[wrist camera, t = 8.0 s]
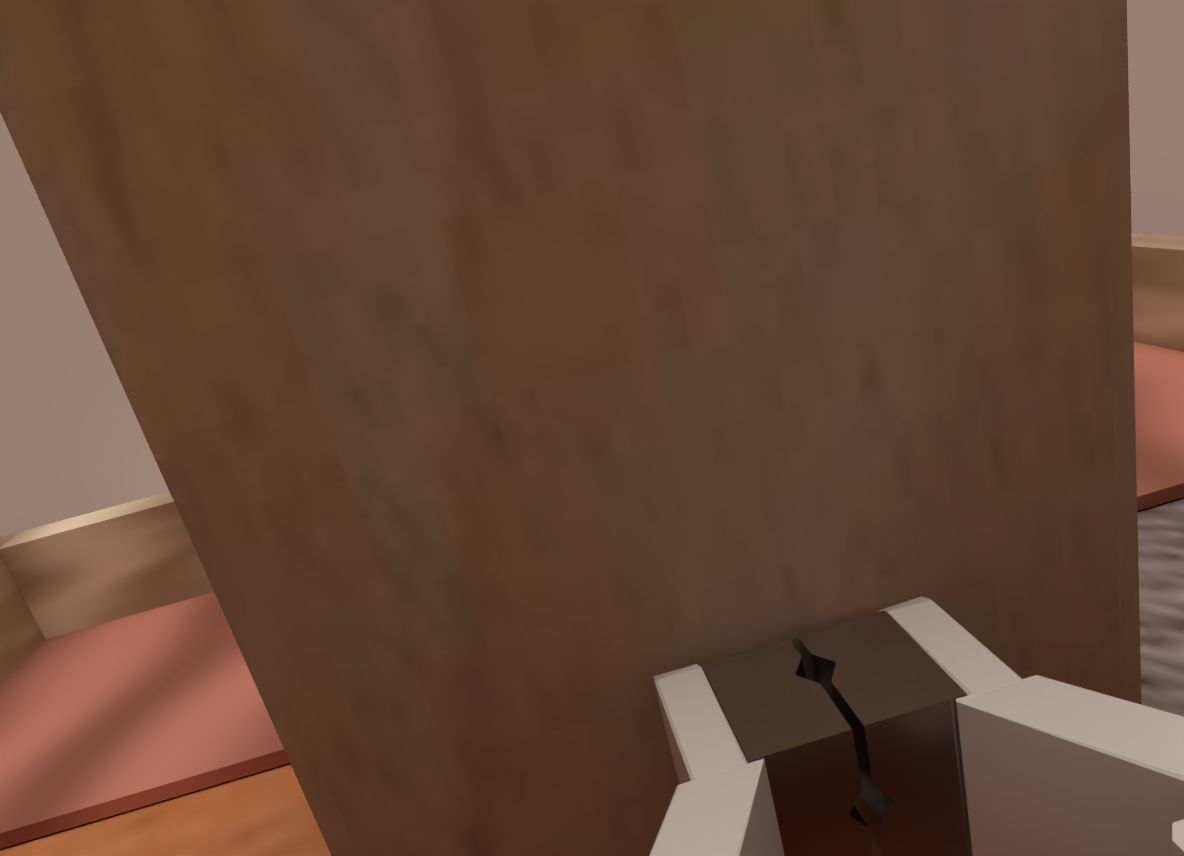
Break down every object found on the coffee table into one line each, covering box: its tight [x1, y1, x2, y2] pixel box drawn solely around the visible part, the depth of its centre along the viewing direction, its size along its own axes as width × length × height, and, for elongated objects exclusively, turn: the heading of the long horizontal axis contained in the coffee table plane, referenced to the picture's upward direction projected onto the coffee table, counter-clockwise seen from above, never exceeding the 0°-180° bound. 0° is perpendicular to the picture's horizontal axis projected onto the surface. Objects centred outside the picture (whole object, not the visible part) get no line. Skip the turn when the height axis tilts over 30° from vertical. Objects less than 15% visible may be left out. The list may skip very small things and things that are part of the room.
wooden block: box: [0, 0, 1141, 856], centre depth 12 cm, size 10×10×20 cm
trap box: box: [0, 233, 1184, 849], centre depth 19 cm, size 44×23×4 cm, turn 98°
